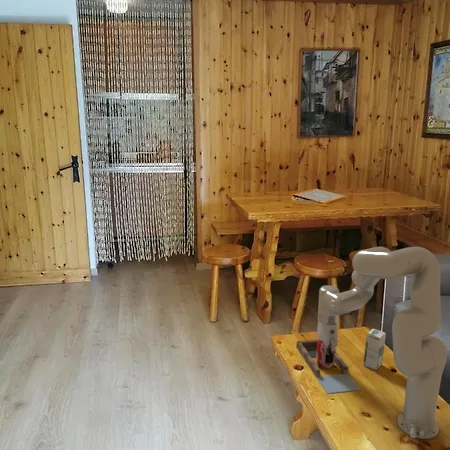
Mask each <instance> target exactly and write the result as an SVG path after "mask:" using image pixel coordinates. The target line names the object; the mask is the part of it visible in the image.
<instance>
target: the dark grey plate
mask: <svg viewBox="0 0 450 450" xmlns="http://www.w3.org/2000/svg"><path fill="white" fill-rule="evenodd" d="M306 350H307V352H308V353H309V355H310V356H311V358H312V359H313V358H316V355H317V348H307V349H306Z"/></svg>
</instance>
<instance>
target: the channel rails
mask: <svg viewBox="0 0 450 450" xmlns="http://www.w3.org/2000/svg"><path fill="white" fill-rule="evenodd" d="M317 341H318V338H317V339H308V340H297V341H296V345H295V346H296V347H295V348H296V349H297V351H298V353H299V354H300V355H301V357H302V359H303V360H304V362H305V363H306V364H307V366H308V367H309V369H310V370H311V372H312V374H313V375H314V376H315V378H316V377H320V376H321V369H320V368H319V366H318V365H317V362H315V360H314V359H313V358H311V356H310V355H309V353H308V352H307V350H306V349H309V348H317ZM334 364H335V365H336V366H337V367H338V369H339V370H340V372H342V374H349V366H348V365H347V363H346V362H345V361H344V360H343V359H342V358H341V356H340V355H339V354H338V353H337V351H335V356H334Z"/></svg>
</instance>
